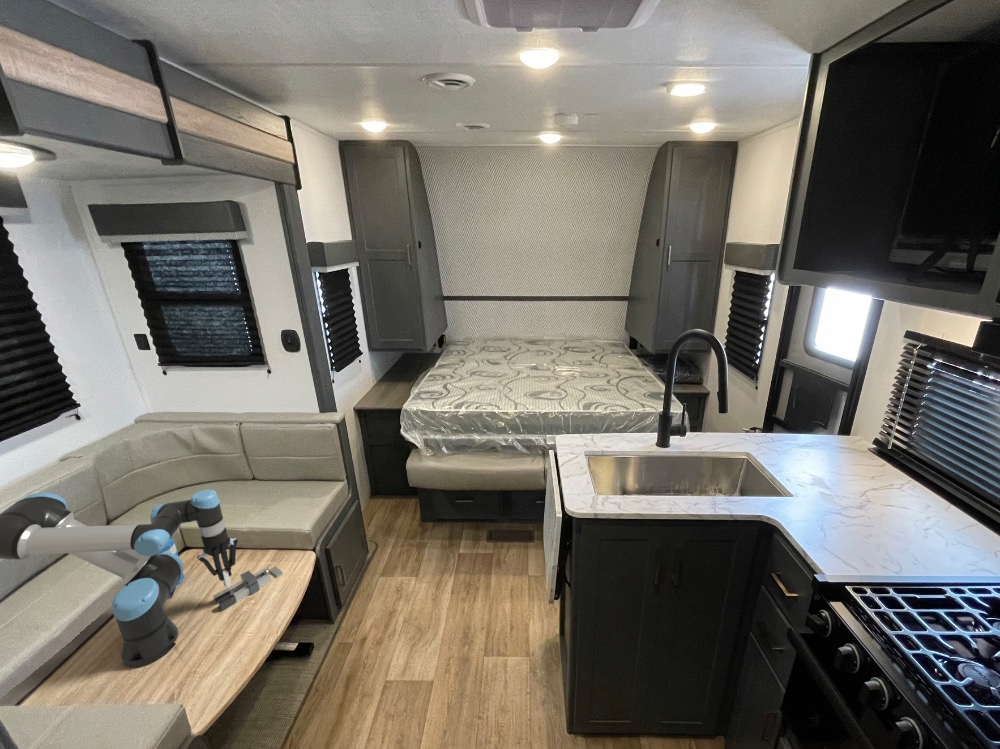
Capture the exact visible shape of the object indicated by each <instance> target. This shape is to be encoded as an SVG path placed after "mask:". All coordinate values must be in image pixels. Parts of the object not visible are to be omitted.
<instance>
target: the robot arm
mask: <svg viewBox="0 0 1000 749" xmlns="http://www.w3.org/2000/svg"><path fill="white" fill-rule="evenodd" d="M220 502H221V501H220V499H219V497H218V493H217V492H216V491H215V490H214V489H211V488H209V489H203V490H200V491H197V492H196V493H194V494H193V495H192V496H191V497H190V499H187V500H186V499H185V500H179V501H174V502H173V501H171V502H166V503H161V504H158V505H155V506H154V507H153V508H152V509H151V513H150V518H149V519H150V523H144V524H118V525H117V524H116V525H114V524H113V525H110V524H109V525H86V524H85V523H82V522H80V521H78V520H76V519H75V518H74V512H73V511H71V510H68V504H67V502H66V500H65V499H64V498H63V497H62V496H60V495H58V494H55V493H52V492H36V493H32V494H29V495H27V496H25V497H23V498H21V499H20V500H17V501H16V502H14V503H13V504H12V505H11V506H9V507H8V508H7V509H5V510H4V511H2V512H1V513H0V559H1V560H8V561H9V560H26V559H27V560H28V559H31V558H32V557H33V556H36V555H37V556H38V555H57V554H58V555H59V554H70V555H72V556H74V557H76V558H78V559H81V560H83V561H85V562H87V563H90V564H91V565H93V566H96V567H98V568H100V569H102V570H105V571H107V572H109V573H110V574H113V575H115V576H117V577H119V578H122V579H123V585H124V586H123V587H122V588H121V589H119V591H117V593H116V594H115V595H114V597H113V599H112V603H111V606H112V607H111V608H112V615H113V617H114V619H115V620H116V623H117V626H118V629H119V632H120V634H121V638H122V646H121V653H120V657H121V661H122V664H123V665H124V666H125V667H127V668H133V669H134V668H141V667H145V666H147V665H150V664H152V663H154V662H156V661H158V660H159V659H160V660H161V659H162V658H163V657H165V656H166V655H167V654H168V653H169V652H170V651H171V650H172V649H173V648H174V647H175V646H176V641H177V640H178V636H179V628H178V626H177V625H176V624H175V623H174V622H172V620H171V619H170V618H168V616H167V613H166V612H167V611H166V609H165V604H166V601H167V600H168V599H167V598H168V597H169V595H170V593H171V592H172V590H173V588H174V587H175V585H176V584H177V583H178V581H179V580H180V577H181V575H182V573H183V574H184V562H183V561H182V559H181V558H180V556H179V555H178V556H177V555H175V554H172V553H160V554H158V553H159V552H160V551H161V550H162V549H163V548H164V547H165V546H166V545H167V544H168V542H169V540H170V539H171V538H172V537H173V535H175V533H176V532H177V531H178V529H179V527H180V526H181V525H182V524H186V523H193V522H196V523H197V527H198V530H199V535H200V538H201V541H202V546H203V549H202V553H201V554H198V555H197V556H196V558H197V559H198V560H199V562H200V563H201V562H202V563H203V564H204V566H205V567H206V568H207V570H208V571H209V573H210V574H211V575H212V576H213V577H215V576H218V580H220V581H221V582H223V585H224V586H225V587H226V589H227V588H229V587H231V586H232V583H231V579H230V577H231V576H232V567H233V566H235V565H236V555H237V546H238V545H237V544H238V542H239V540H238V539H237V538H236V537H232V538H230V537H229V536H228V532H227V528H226V524H225V519H224V516H223V511H222V508H221V503H220ZM228 548H229V551H227V549H228ZM228 552H229V553H228ZM157 554H158V555H157ZM208 556H211V557H212V560H213V564H214V567H215V568H214V567H213V565H212V564H211V563H210V561H209V560H208ZM220 557H221V560H222V563H223V567H222V563H221V560H220Z"/></svg>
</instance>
